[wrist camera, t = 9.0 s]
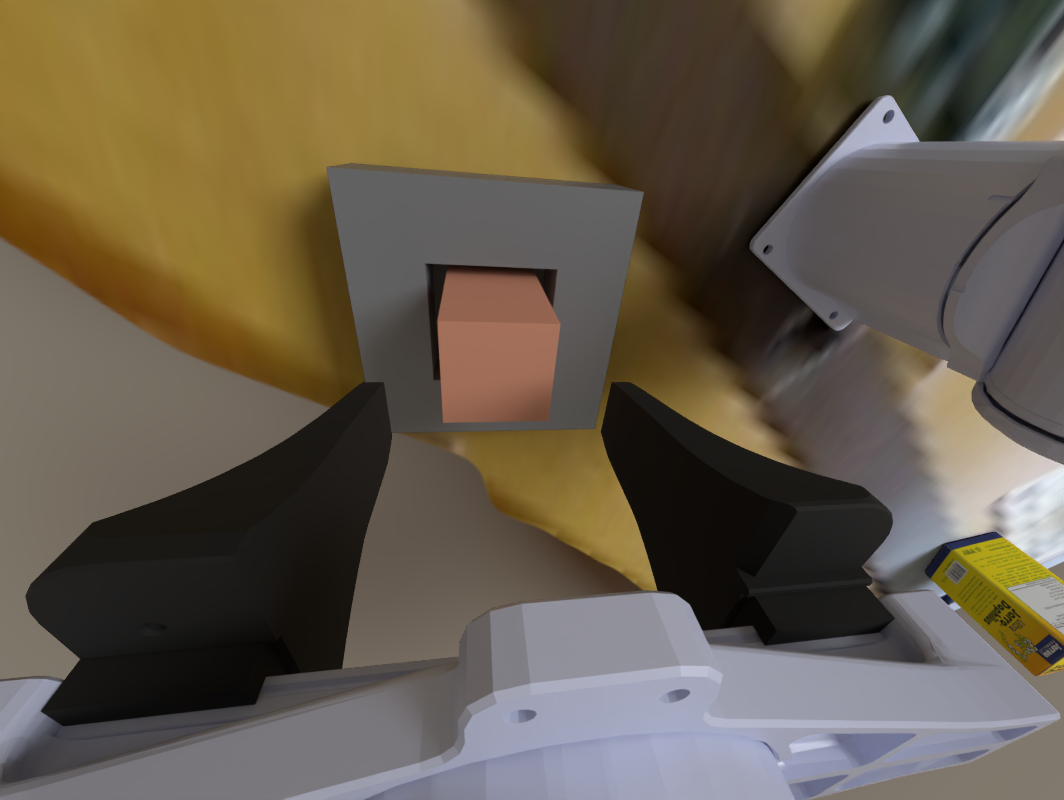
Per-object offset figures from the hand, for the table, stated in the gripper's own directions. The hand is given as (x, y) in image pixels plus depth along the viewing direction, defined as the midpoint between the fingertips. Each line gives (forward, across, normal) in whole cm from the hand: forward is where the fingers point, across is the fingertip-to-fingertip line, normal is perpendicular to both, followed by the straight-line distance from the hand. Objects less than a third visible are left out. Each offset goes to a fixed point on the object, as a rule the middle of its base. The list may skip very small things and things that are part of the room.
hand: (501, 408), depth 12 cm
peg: (+10, 0, 0) cm, 10 cm away
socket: (+10, 0, 0) cm, 10 cm away
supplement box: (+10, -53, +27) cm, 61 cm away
